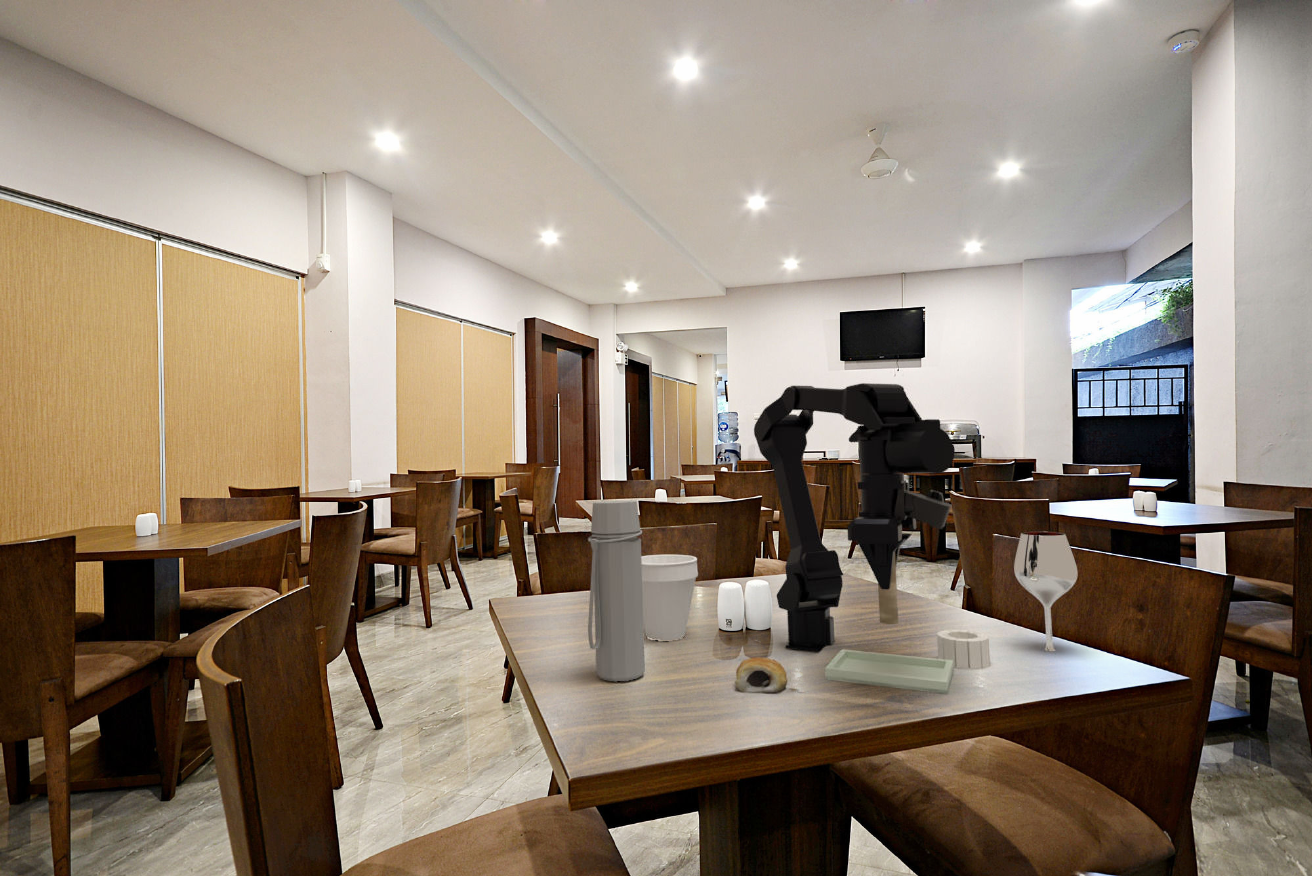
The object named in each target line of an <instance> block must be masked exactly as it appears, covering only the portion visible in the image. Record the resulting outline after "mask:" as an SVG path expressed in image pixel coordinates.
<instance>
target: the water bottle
mask: <svg viewBox="0 0 1312 876" xmlns="http://www.w3.org/2000/svg"><path fill="white" fill-rule="evenodd" d="M639 516H640V515H639V509H638V501H637V500H610V501H609V500H606V501H596V502H594V501H593V502H592V512H591V524H590V525H591V528H590V530H591V531H590V533H592V534H591V535H590V536H589V537H588V538H587V540H588V542H589V543H590V545H591V547H590V548H591V550H592V557H591V559H592V560H591V573H590V574H591V575H590V590H589V606H588V607H589V608H588V620H587V621H588V622H587V623H588V625H587V635H588V643H589V648H590V649H592V650H595V663H596V664H595V671H596V673H595V674H596V675H597V677H599V678H601V679H602V680H605V681H606V680H607V681H608V682H612V681H614V682H613V683H618V682H617V681H626V682H630V681H629V680H631V681H634V680H633V679H635V680H636V679H638V678H640V677H642V676H643V675H644V673H645V672H646V671H645V670H646V663H645V662H646V661H645V660H646V659H645V657H646V656H645V630H644V623H643V591H642V560H641V556H642V539H641V538H639V536H641V535H642V534H643V530H642V529H641V525H640V518H639ZM593 616H594V618H593ZM593 619H594V634H595V636H594V637H595V639H594V638H593ZM593 639H594V640H595V643H594V640H593ZM607 681H606V682H607Z"/></svg>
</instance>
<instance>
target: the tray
mask: <svg viewBox="0 0 1312 876" xmlns="http://www.w3.org/2000/svg"><path fill="white" fill-rule="evenodd" d="M954 669H955V667H953V660H945V659H938V658H934V657H933V658H932V657H923V656H922V657H921V656H915V655H914V656H913V655H902V654H894V653H882V652H872V651H862V650H855V649H854V650H852V649H843V648H842V649H841V650H840V651H839V652H838V653H837V654H836V655H835V656H834V658H832V659H831V661H830V662H829V663H828V664H827V666H826V667H825V668H824V678H825V679H824V680H827V681H828V680H829V681H836V682H842V683H843V682H844V683H852V684H862V685H868V686H877V687H883V688H884V687H885V688H893V689H901V690H909V691H911V690H912V691H918V692H926V693H927V692H928V693H933V694H935V693H936V694H942V695H948V694H949V691H950V690H949V689H950V686H951V683H952V679H953V676H954V672H955V670H954Z"/></svg>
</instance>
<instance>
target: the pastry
mask: <svg viewBox="0 0 1312 876" xmlns="http://www.w3.org/2000/svg"><path fill="white" fill-rule="evenodd" d="M735 671H736V672H735V674H736V675H735V676H736V678H735V679H736V680H735V682H734V684H735V687H736V688H737V689H738V691H740V692H744V693H766V694H767V693H778V692H781V691H783V690H784V689H786V686H787V684H788V679H787V671H786V670H785V668H784V666H782V664H781V663H779V662H778V661H777V660H775V659H773V658H772V659H771V658H769V657H761V656H755V657H750V658H748V659H744V660H742V661H741V663H740V665H739V666H738V667H737V669H736V670H735Z"/></svg>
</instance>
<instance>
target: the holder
mask: <svg viewBox="0 0 1312 876" xmlns="http://www.w3.org/2000/svg"><path fill="white" fill-rule="evenodd" d="M936 640H937V641H936V642H937V657H938V658H937V659H945V660H953V667H954V668H955V669H965V670H981V669H985V668H988V667H991V655H990V636H989V634H986V633H983V632H981V631H975V630H969V629H943V630H939V631H938V632H937V635H936Z"/></svg>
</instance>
